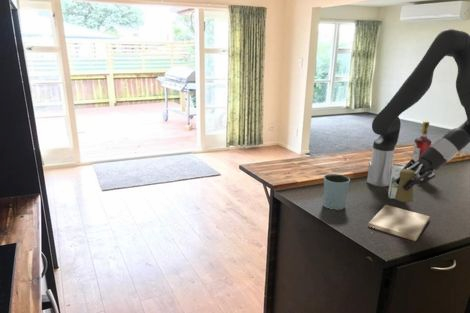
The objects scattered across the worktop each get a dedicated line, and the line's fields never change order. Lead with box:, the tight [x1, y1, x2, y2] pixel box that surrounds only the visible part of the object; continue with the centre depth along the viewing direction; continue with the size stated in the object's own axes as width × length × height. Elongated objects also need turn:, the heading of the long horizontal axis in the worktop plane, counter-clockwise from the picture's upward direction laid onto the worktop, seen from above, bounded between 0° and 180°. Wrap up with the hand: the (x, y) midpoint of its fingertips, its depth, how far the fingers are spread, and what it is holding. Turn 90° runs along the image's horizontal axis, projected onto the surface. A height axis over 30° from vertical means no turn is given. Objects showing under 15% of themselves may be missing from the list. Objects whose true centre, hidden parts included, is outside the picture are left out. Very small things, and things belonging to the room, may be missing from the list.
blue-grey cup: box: [322, 173, 351, 210], centre depth 146 cm, size 10×10×12 cm
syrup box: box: [387, 163, 408, 200], centre depth 155 cm, size 6×6×14 cm
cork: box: [394, 169, 415, 203], centre depth 129 cm, size 6×6×11 cm
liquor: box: [412, 121, 432, 161], centre depth 177 cm, size 7×7×28 cm
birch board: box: [367, 204, 430, 242], centre depth 134 cm, size 16×20×2 cm
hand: (400, 185), depth 130 cm, fingers closed on cork, 5 cm apart
